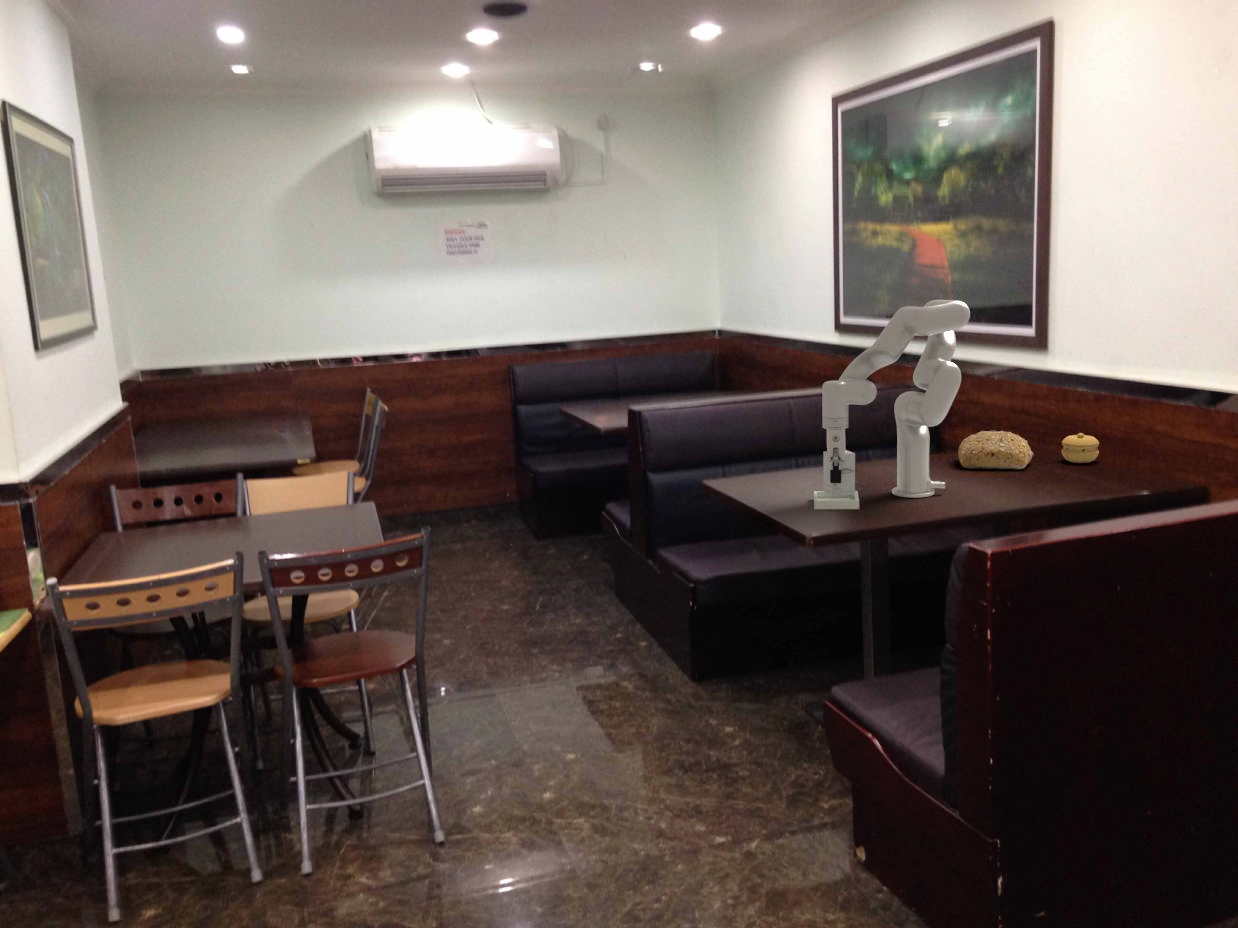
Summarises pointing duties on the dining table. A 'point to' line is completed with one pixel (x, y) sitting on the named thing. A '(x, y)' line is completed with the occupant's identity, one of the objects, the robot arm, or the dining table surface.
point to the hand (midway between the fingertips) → (835, 479)
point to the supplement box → (846, 475)
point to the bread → (994, 451)
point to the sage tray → (835, 501)
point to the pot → (1080, 448)
